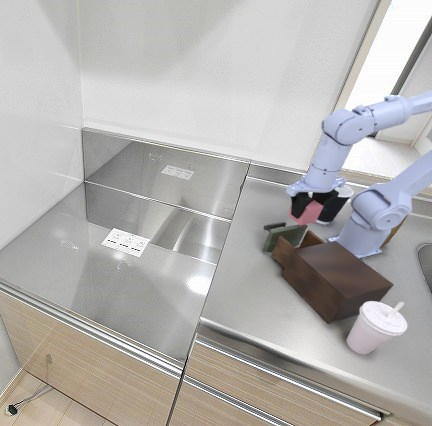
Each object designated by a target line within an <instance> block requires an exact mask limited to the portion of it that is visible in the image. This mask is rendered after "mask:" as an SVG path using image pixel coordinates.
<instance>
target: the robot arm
mask: <svg viewBox="0 0 432 426" xmlns="http://www.w3.org/2000/svg"><path fill="white" fill-rule="evenodd" d="M430 112H432V89H430V90H427V91H424V92H421V93H419V94H415V95H413V96H410V97H407V98H405V97H404V96H402V95H393V94H389V95H386V96H383V99H381V100H377V101H374V102H371V103H368V104H365V105H363V104H359V105H356V106H355V107H354V108H352V109H349V108H339V109H336V110H333V111H332V112H331V113H330V114H328V115H327V116H326V118H325V119H324V120H321V123H320V129H321V132H322V134H321V136H320V142H319V143H318V146H317V148H316V151H315V153H314V155H313V158H312V160H311V163H310V165H309V167H308V169H307V172H306V174H303V175H301V177H300V178H301V179H300V180H298V181H297V182H295V183H293V184H289V185H287V188H286V191H285V194H287V195H289V196H290V201H291V205H292V207H291V206H290V208H291V215H292V216H294V217H295V218H296V219H298V218H300V216H301V215H302V214H303V212H304V210H305V208H306V207H307V206H308V205H309V204H310V203H311V202H312V201H314V200H315V201H316V202H318V203H319V204H321V205H322V206H323V207H324V206H325V205H326V204H327V203H328V202H330V201H331V200H332V199H334V198H336V197H337V196H338V195H339V192H338V191H336V190H334V189H335V188H336V187H339V188H343V187H344V185H346V184H347V182H348V180H347V179H345V178H343V177H341V176H339V175H340V172H341V170H342V169H343V166H344V164H345V163H346V160H347V159H348V156H349V154H350V152H351V150H352V148H353V146H354V145H356V144H358V143H359V142H361V141H363V140H364V138H366V137H367V136H369V135H372V134H373V133H376V132H379V131H383V130H387V129H390V128H393V127H394V128H395V127H397V126H401V125H403V124H405V123H406V122H408V121H409V119H410V118H411V117H412V116H416V115H420V114H425V113H430ZM431 185H432V148H431V149H430V150H429V151H426V153H424V154H423V155H422V156H421V157H420V158H418V159H416V160H415V161H414V162H413V163H412V164H410V165H409V166H408V167H407V168H405V169H404V170H402V171H401V172H400V173H399V174H398V175H396V176H395V177H394V178H392V179H391V180H389V181H387V182H378V183H373V184H371V185H370V186H369V187H367V188H365V189H362V190H361V191H359V192H357V193H355V194H353V195H352V197H351V199H350V202H349V205H350V207H351V208H352V209H351V210H350V213H351V214H350V217H349V218H348V219H347V221H346V223H345V225H344V227H343V228H342V230H341V232H340V233H339V235H338V236H333V237H330V238H328V239H327V242H331V241H337V242H338V243H339V244H341V245H342V246H343V247H345V248H346V249H347V250H349V251H350V252H351V253H353V254H354V255H355V256H357V257H358V258H359V259H363V258H367V257H370V256H371V257H372V256H374V255H379V254H382V253H383V251H382V249H381V245H382V244H383V243H384V241H385V240H386V238H387V237H388V236H389V234H390V233H391V229H392V228H394V227H396V226H397V225H399V224H400V223H401V221H402V220H403V219H404V218H405V217H406V216H407V215H408V216H409V215H410V214H411V213H412V212H413V201H412V199H413V198H414V197H415V196H417V195H418V194H419V193H421V192H422V191H424V190H426V188H428V187H430V186H431ZM309 193H311V196H310V194H309ZM408 216H407V217H408Z"/></svg>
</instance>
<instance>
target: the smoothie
mask: <svg viewBox="0 0 432 426" xmlns="http://www.w3.org/2000/svg"><path fill="white" fill-rule="evenodd" d="M404 305H405V302H403V301H399V302H398V303H397V305H395V307H394V308H393V307H391V305H388V304H386V303H383V302H381V301H380V302H376V301H368V302H365V303H364V304H363V305H362V306H361V307H360V314H359V315H357V318H356V319H355V322H354V323H353V326H352V328H351V329H350V332H349V334H348V335H347V338H346V339H345V341H346V344H347V346H348V347H349V348H350V349H351V350H352V351H353V352H355V353H356V354H360V355H363V356H364V355H368V354H369V353H371V352H373V351H374V350H376V349H377V348H379V347H381V346H382V345H384V344H385V343H387V342H388V341H390V340H391V339H393V338H394V337H396V336H397V337H398V336H401V335H404V333H405V332H406V330H407V329H408V322H407V320H406V319H405V317H404V316H403V315H402V314H401V313H400V312H399V311H400V310H401V308H402V307H403V306H404Z"/></svg>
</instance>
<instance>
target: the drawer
mask: <svg viewBox="0 0 432 426" xmlns="http://www.w3.org/2000/svg"><path fill="white" fill-rule="evenodd" d="M308 227H309V224H306V225H301V226H300V225H299V224H298V223H297V224H293V225H290V226H289V225H287V222H286V221H283V220H282V221H279V222H278V221H277V222H273V223H269V224H265V225H263V227H262V228H263V230H264V231H267V232H268V234H267V237H266V240H265V241H264V245H263V247H262V252H264V254H267V253H271V252H272V253H271V256H272V258H274V259H275V261H276V262H277V263H278V264H279V265H280V266H282V267H283V268H284V269H285V267H286V265H287V263H288V261H289V259H290V257H291V255H292V252H293V250H297V249H301V248H305V247H310V246H314V245H318V244H322V243H327V241H324V240H323V239H322V238H321V237H320V236H318V235H317V234H315V233H314V232H313V231H312V230H310V229H308Z"/></svg>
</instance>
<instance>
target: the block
mask: <svg viewBox="0 0 432 426" xmlns="http://www.w3.org/2000/svg"><path fill="white" fill-rule="evenodd" d="M291 207H292V204H291V205H290V208H289V210H288V213H287V216H288V217H289V218H290V219H291V220H293V221H294V222H295V223H296V224H297V225H298V224H299V225H300V226H301V225H310V224H314V223H317V222H316V220H317V218H318V216H319V214H320V212H321V210H322V208H323V206H322V205H321V204H319V203H318V202H316V201H315V200H314V201H312V202H311V203H310V204H309V205H308V206H307V207H306V208H305V210H304V212H303V214H302V215H301V216H300V218H298V219H296V218H295V217H294V216H292V215H291Z"/></svg>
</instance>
